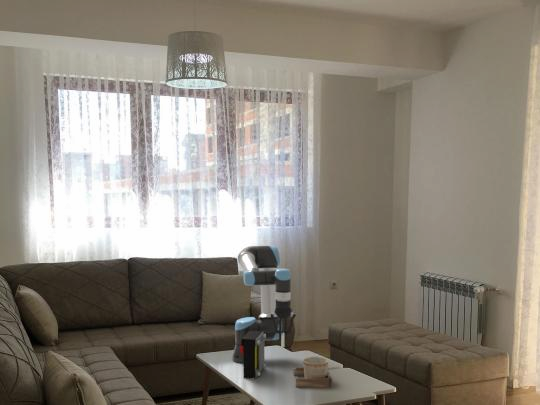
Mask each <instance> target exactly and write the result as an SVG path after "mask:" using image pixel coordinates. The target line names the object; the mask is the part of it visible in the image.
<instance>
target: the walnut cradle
mask: <svg viewBox="0 0 540 405" xmlns="http://www.w3.org/2000/svg"><path fill="white" fill-rule="evenodd" d="M299 376H303V377H299ZM293 377H295V388H332V377H331V374H330V372H329V370H328V369H327V378H305V377H304V366H302V367H297V366H294V367H293Z"/></svg>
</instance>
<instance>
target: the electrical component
mask: <svg viewBox="0 0 540 405" xmlns="http://www.w3.org/2000/svg"><path fill="white" fill-rule="evenodd" d="M263 338H266V334H264V332H263V331H249V332H248V333H247V334H246V335H245V336H244V337H243V338H242V339H241V344H242V346H240V350H241V354H244V363H243V379H252V378H253V379H257V378H258V377H261V372H262V371H263V369H266V367H267V364H266V363H265V340H264V339H263Z"/></svg>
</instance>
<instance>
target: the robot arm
mask: <svg viewBox="0 0 540 405" xmlns="http://www.w3.org/2000/svg"><path fill="white" fill-rule="evenodd" d="M237 263H238V265H240V267H241V268H242V269H243V275H242V276H243V278H242V279H243V283H244V285H245V286H250V287H252V286H260V310H261V311H260V314H259V315H258V319H256V318H255V317H254V316H251V317H250V316H248V317H247V316H246V317H242V318H239V319H237V320H236V321H235V324H234V325H235V326H234V330H235V332H234V333H235V339H234V340H235V341H234V342H235V345H234V349H233V352H232V355H231V359H232V361H233V363H234V362H235V363H237V364H239V363H240V364H244V354H241V350H240V346H242V344H241V339H242V338H243V337H244V336H245V335H246V334H247V333H248V332H249V331H263V332H264V334H266V338H263V339H264V341H277V340H278V341H280V343H281V344H280V345H281V346H280V347H281V348H285V341H287V339H288V338H287V337H288V336H287V334H290V333H291V331H292V327H293V323H294V319H295V317H296V313H295V312H293V311H292V309H291V295H292V294H291V292H292V291H291V283H292V281H291V279H292V278H291V277H292V275H291V270H290V269H288V268H278V266H280V264H281V258H280V252H279V250H278V248H277V246H275V245H252V246H251V245H250V246H248V247H245V248H243V249H242V250H241V251H240V252H239V253H238V256H237ZM289 316H290V320H289V324H288V323H287V322H288V318H289ZM282 320H283V321H282ZM283 322H284V323H283ZM282 331H283V332H282Z"/></svg>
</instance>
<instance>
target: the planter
mask: <svg viewBox="0 0 540 405" xmlns="http://www.w3.org/2000/svg"><path fill="white" fill-rule="evenodd" d="M302 363H303V365H302V367H304V376H303V378H327V369H328V368H329V359H327V358H325V357H321V356H309V357H305V358H303V359H302Z"/></svg>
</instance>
